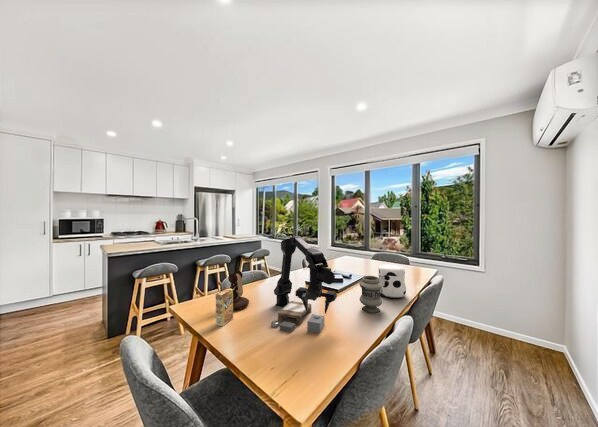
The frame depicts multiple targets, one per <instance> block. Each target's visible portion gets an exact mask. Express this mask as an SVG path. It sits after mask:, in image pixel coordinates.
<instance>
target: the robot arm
mask: <svg viewBox="0 0 598 427" xmlns="http://www.w3.org/2000/svg"><path fill="white" fill-rule="evenodd" d="M296 248H297V249H299V251H300V252H301V253H302V254H303V256H305V260H306V262H307V263H308V265H307V267H306V268H308V269H309V282H308V286H307V287H303V286H301V287H299V288H297V289H296V290H295V294H294V295H295V297H297V298H298V299H300V300H301V302H302V303H303V304H304V306H305V309H306V311H307V310H308V304H309V300H310V301H317V299H319V298H321V297H322V298H325V300H324V314H325V315H326V314H327V311H328V310H329V308H330V304H331V303H332V302H335V301H336V299H337V297H338V294H337V291H333V290H328V291H326V292H323V289H324V288H323V284H325V285H326V284H327V285H332V284H333V283H334V281H335V279H336V275H335V273H334V271H332V267H331V268H330V267H329V264H328V262H327V260H326V258H325V255H324V253H323V252H322V251H320V250H318V249H316V248H313V247H312V246H310V245H309V244H308V242H306V241H305V240H304V239H303V238H302V236H300V235H294V236H293V235H292V236H291V237H288V238H286V239H285V238H284V239H283V240H281V242H280V250H281V252H282V254H283V255H282V261H281V262H282V263H281V264H282V265H281V272H280V278H279V279H278V280H277V282H276V286H275V287H274V289H273V294H274V295H275V296H276V303H275V306H277V307H282V308H284V307H285V306H286V305H287V304H288V303H290V302H291V301H290V296H289V294H291V292H292V289H293V283H292V281H291V279H290V274H291V266H292V258H293V257H292V256H293V254H294V253H295V252H296Z"/></svg>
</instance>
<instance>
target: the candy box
mask: <svg viewBox="0 0 598 427" xmlns="http://www.w3.org/2000/svg"><path fill="white" fill-rule="evenodd" d="M233 290H234V289H230V288H225V289H223V290H221V291H219V292H217V293H215V322H216V323H215V326H219V327H224V326H226V325H227V324H228V323H229V322H231V321H232V320H233V319H234V309H233Z"/></svg>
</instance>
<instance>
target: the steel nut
mask: <svg viewBox="0 0 598 427" xmlns="http://www.w3.org/2000/svg"><path fill="white" fill-rule="evenodd" d="M270 327H271V328H278V327H279V328H280V321H279V320H273V321H271V323H270Z"/></svg>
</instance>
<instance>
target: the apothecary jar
mask: <svg viewBox="0 0 598 427" xmlns="http://www.w3.org/2000/svg"><path fill="white" fill-rule="evenodd" d="M359 287H360V288H361V295H360V296H359V302H360V303H361V304H362V305H363V306H362V307H361V311H362V312H363V313H367V314H369V315H370V314H371V315H377V314H378V315H379V314H380V313H381V309H380V308H379V307H380V306H381V305H383V302H384V300H383V298H382V297H381V294H380V289H381V288H382V284H381V282H379V276H374V275H364V276H362V280H361V281H360V282H359Z"/></svg>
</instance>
